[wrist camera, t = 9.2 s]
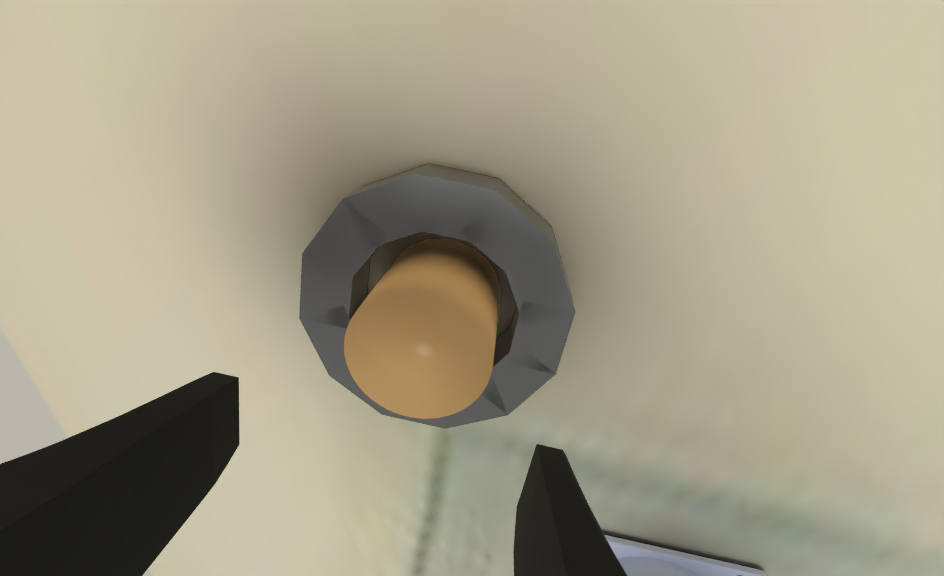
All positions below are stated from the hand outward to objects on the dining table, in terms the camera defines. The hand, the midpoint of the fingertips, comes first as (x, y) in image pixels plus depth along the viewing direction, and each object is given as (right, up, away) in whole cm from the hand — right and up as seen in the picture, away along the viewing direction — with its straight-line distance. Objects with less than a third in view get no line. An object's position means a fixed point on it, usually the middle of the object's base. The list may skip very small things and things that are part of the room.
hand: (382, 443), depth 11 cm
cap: (+1, +3, +8) cm, 9 cm away
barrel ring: (+1, +4, +8) cm, 9 cm away
